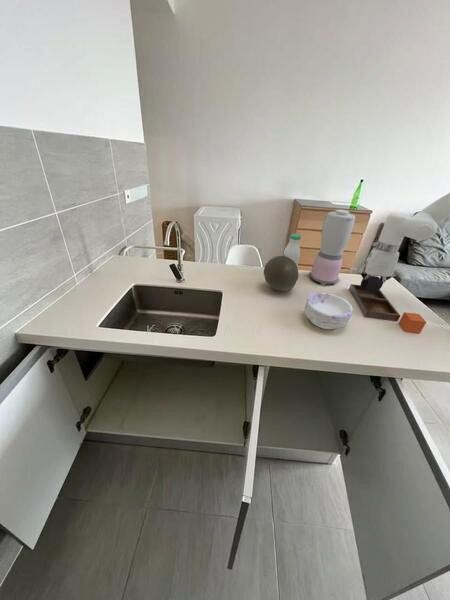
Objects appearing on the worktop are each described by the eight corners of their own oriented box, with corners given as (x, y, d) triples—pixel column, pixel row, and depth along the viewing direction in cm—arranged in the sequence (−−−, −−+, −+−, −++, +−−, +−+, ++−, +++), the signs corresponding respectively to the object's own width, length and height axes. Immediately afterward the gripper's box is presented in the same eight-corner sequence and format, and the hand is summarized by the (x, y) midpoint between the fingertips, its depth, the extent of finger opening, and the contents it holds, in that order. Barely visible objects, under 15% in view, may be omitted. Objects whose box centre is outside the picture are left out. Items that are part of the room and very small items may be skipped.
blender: (341, 285, 113) (366, 214, 97) (319, 287, 110) (340, 214, 94) (322, 271, 126) (340, 206, 110) (301, 272, 123) (316, 206, 107)
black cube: (373, 286, 105) (378, 276, 102) (377, 292, 100) (382, 281, 98) (361, 285, 105) (365, 274, 103) (365, 290, 101) (369, 280, 98)
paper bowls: (337, 341, 79) (345, 321, 74) (294, 321, 87) (299, 302, 83) (352, 321, 89) (359, 303, 84) (312, 305, 97) (317, 287, 93)
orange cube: (412, 325, 89) (419, 313, 86) (419, 333, 84) (426, 322, 82) (398, 323, 89) (404, 312, 86) (404, 331, 85) (410, 320, 82)
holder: (375, 292, 109) (378, 287, 108) (397, 321, 90) (400, 315, 89) (349, 289, 110) (350, 284, 109) (364, 317, 92) (367, 311, 90)
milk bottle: (297, 274, 121) (306, 234, 111) (292, 279, 116) (301, 238, 105) (282, 270, 125) (290, 231, 114) (277, 275, 119) (284, 235, 108)
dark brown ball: (282, 280, 114) (288, 250, 106) (301, 295, 103) (309, 262, 95) (256, 284, 110) (260, 253, 102) (272, 300, 98) (278, 266, 91)
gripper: (367, 247, 91) (351, 289, 100) (415, 252, 89) (394, 295, 99) (360, 241, 97) (346, 281, 107) (406, 246, 95) (387, 286, 105)
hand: (369, 287), depth 103 cm, fingers closed on black cube, 5 cm apart
